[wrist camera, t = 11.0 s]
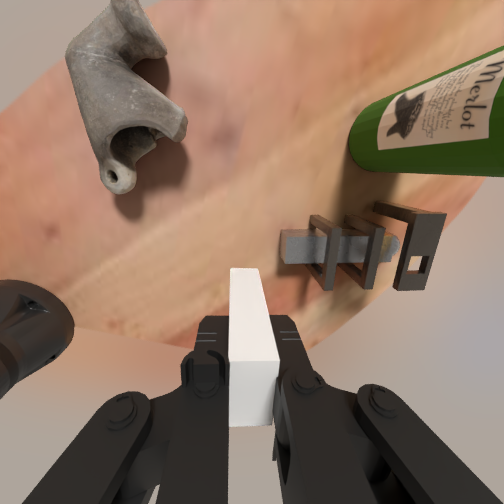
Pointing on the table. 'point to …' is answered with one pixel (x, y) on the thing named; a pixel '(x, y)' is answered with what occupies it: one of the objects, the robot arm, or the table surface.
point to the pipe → (121, 92)
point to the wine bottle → (438, 124)
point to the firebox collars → (415, 244)
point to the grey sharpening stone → (314, 244)
